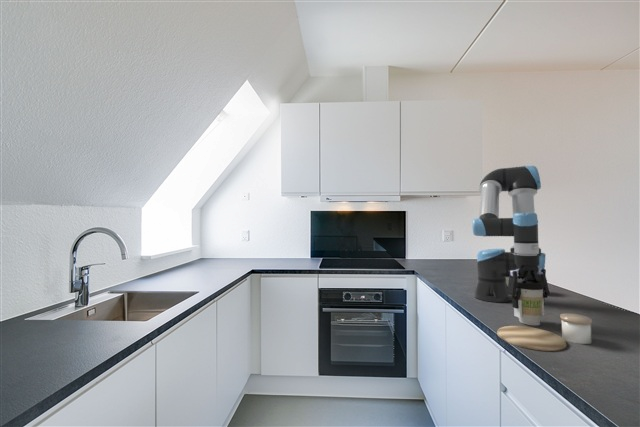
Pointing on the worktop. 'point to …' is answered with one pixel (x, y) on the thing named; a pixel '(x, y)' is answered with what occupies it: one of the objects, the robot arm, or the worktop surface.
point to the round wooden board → (531, 338)
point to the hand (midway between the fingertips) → (529, 315)
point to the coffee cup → (531, 302)
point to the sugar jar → (576, 328)
